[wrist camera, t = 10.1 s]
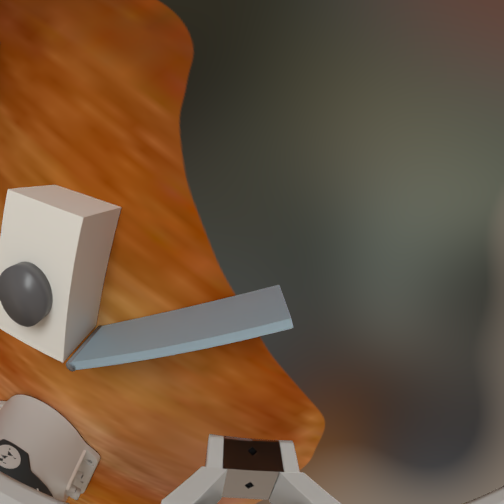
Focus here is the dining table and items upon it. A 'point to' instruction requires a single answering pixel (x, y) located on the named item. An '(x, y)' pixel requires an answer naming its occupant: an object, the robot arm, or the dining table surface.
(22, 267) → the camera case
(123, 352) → the case door
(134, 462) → the dining table surface
